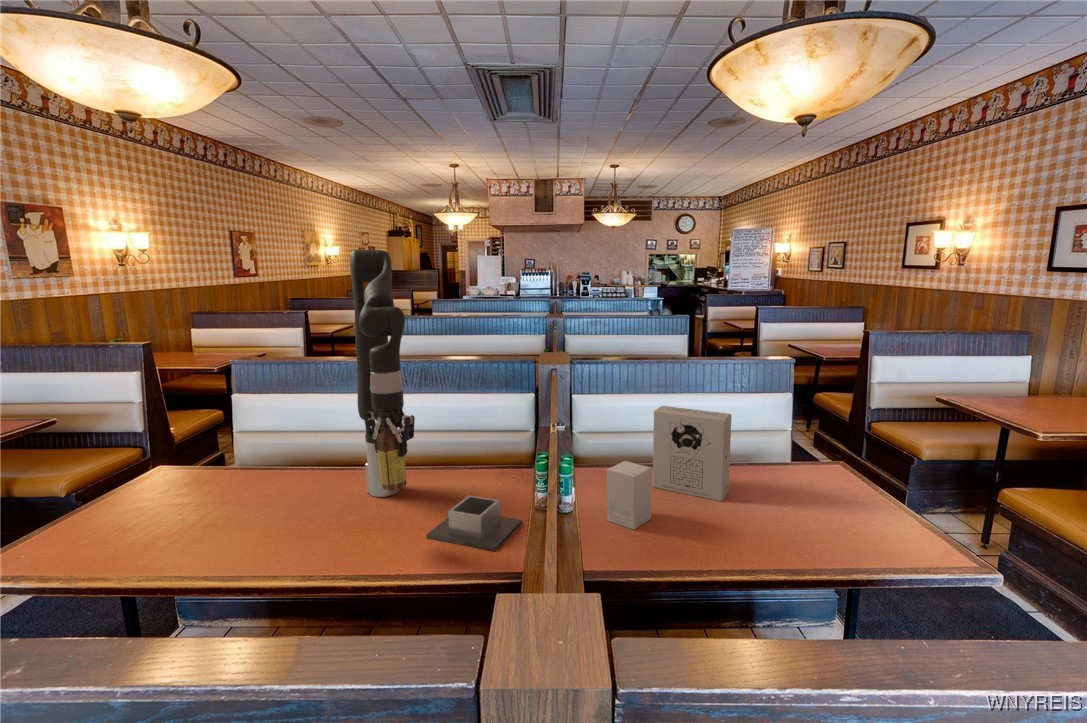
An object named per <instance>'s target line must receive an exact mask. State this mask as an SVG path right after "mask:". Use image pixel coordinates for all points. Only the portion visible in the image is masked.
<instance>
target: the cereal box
mask: <svg viewBox="0 0 1087 723" xmlns="http://www.w3.org/2000/svg"><path fill="white" fill-rule="evenodd" d="M652 432H653V438H652V439H653V440H652V441H653V443H652V444H653V445H652V446H653V447H652V488H655V489H659V490H664V491H665V490H666V491H670V492H675V493H680V494H683V495H689V496H692V497H693V496H694V497H698V498H702V499H708V500H713V501H718V502H723V501H724V500H725V498H726V496H727V495H728V493H729V490H730V489H729V488H730V487H729V486H730V464H731V463H730V462H731V460H730V459H731V441H732V440H731V437H732V436H731V434H732V414H731V413H726V412H720V411H719V412H718V411H711V410H701V409H693V408H687V407H686V408H683V407H678V406H677V407H676V406H668V405H661V406H660V407H658V408H656V409H654V410H653V431H652Z"/></svg>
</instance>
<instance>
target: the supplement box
mask: <svg viewBox="0 0 1087 723" xmlns="http://www.w3.org/2000/svg"><path fill="white" fill-rule="evenodd" d="M606 474H607V476H606V478H607V484H606V485H607V486H606V487H607V490H606V491H607V493H606V494H607V521H608V522H611V523H613V524H617V525H620V526H622V527H625V528H628V529H631V530H633V531H635V530H636V529H638V528H639V527H640V526H642V525H644V524H645V523H647V522H648V521H650V520H651V519H652V481H653V467H650V466H646V465H642V464H639V463H634V462H631V461H627V460H624V461H621V462H620V463H617V464H616V465H612V466H611V467H609V468H607V469H606Z"/></svg>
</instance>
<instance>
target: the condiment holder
mask: <svg viewBox="0 0 1087 723" xmlns="http://www.w3.org/2000/svg"><path fill="white" fill-rule="evenodd" d="M447 514H448V515H447V518H445V519H444V520H443V521H442V522H440V523H439V524H437V526H435V527H434V528H432V529H431V530H429V532H427V533H426V538H427V539H429V538H430V539H429V540H434V539H435V541H439V540H441V541H440V542H445V543H450V542H451V543H450V544H455V543H457V544H456V545H460V544H461V545H460V546H465V545H466V546H465V547H471V548H476V549H479V550H486V551H490V552H497V550H498V549H499V548H500V547H501V546H502V545H503V544H504V543H505V542H507V539H509V538H510V537H511V536H512V535H513V534H514V533H515V531H516V530H517V529H518V528H519V527H520V526H521V525H522V524H523V520H522V519H519V518H513V517H509V516H508V517H507V516H501V501H500V499H493V498H488V497H487V498H486V497H481V496H474V495H467V496H466V497H464V499H462V500H461V501H459V502H458V503H457V504H456V505H454V506H453V507H452V508H451V509H449V510H448V511H447Z"/></svg>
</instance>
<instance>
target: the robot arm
mask: <svg viewBox="0 0 1087 723" xmlns="http://www.w3.org/2000/svg"><path fill="white" fill-rule="evenodd" d="M392 265H393V264H392V259H391V256H390V254H389V252H388V251H385V250H382V249H353V250H352V251H351V253H350V257H349V266H350V277H351V285H352V296H353V304H354V306H353V307H354V308H353V309H354V337H355V351H356V363H357V412H358V415H359V418H360V419H361V420H363V421H364V427H365V431H366V432H365V434H364V435H365V436H364V437H365V448H366V450H365V451H366V460H367V462H366V463H365V465H364V470H365V472H364V473H365V483H366V493H368V494H370V496H372V497H375V498H383V497H385V498H386V497H389V496H393V495H396V494H397V493H399V492H400V490H401V489H398V490H392V491H390V490H384V489H383V487H382V483H381V477H380V467H379V458H378V445H377V437H378V434H379V432H380V424H381V419H380V418H379V415H378V412H379V411H382V412H390V413H391V416H390V417H388V418H386V422H387V424H388V425H389V426H390V428H391V430H392V432H393V434H394V435H395V436H396V438H397V440H398V456H399V457H403V456H404V457H405V456H406V455H407V453H408V441H409V440H411V439H414V437H415V416H414V415H413V414H411V415H406V414H405V413H404V410H403V409H404V405H405V402H404V388H403V377H402V371H401V360H400V359H401V357H400V355H401V354H400V350H401V344H402V342H401V341H402V337H403V332H404V330H405V326H406V325H405V323H406V316H405V314H404V311H403V310H402V309H401V308H399V306H395V304H394V298H393V292H392V286H393V269H392V268H393V267H392ZM364 283H368V284H367V285H366V287H364ZM389 337H390V338H389ZM396 428H397V429H396Z"/></svg>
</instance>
